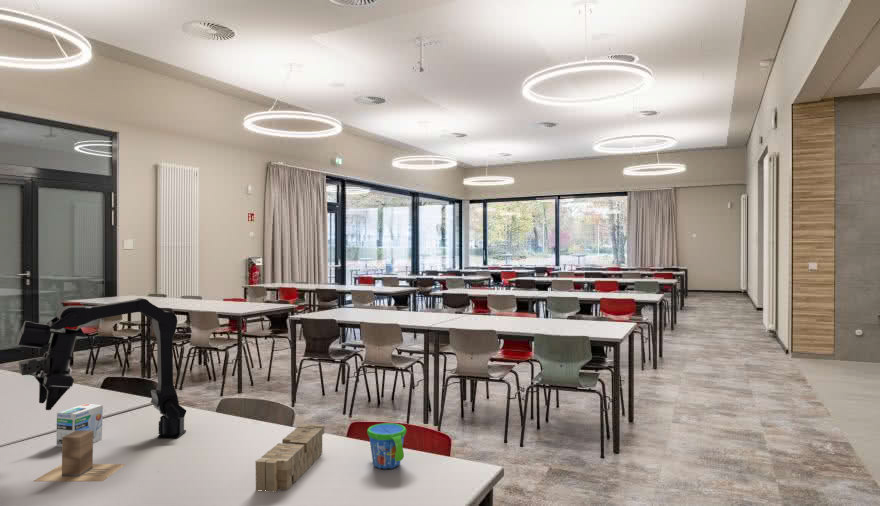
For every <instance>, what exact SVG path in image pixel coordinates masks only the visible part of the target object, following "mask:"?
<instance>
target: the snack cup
mask: <svg viewBox="0 0 880 506" xmlns="http://www.w3.org/2000/svg"><path fill="white" fill-rule="evenodd" d="M366 434H367V436H368V438H369V444H370V452H371V460H372V464H373V465H374V467H375V468H378V469H380V468H383V469H382V470H388V469H387V468H390V469H394V468H397V467H398V466H399V465H400V464H401V461H403V459H404V457H405V453H404V448H403V447H404V446H403V445H404V441H405V440H404V439H405V436H406V434H407V429H406V426H404V425H402V424H399V423H390V422H384V423H377V424H374V425H371V426H369V427H368V428H367V431H366ZM396 466H397V467H396Z"/></svg>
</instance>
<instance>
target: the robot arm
mask: <svg viewBox="0 0 880 506" xmlns="http://www.w3.org/2000/svg"><path fill="white" fill-rule="evenodd" d="M134 313H140V314H142V315H143V316H145V317H146V318H147V319H149V320H150V321H151V324H152V330H153V333H154V335H155V338H156V347H157V349H156V351H157V352H156V353H157V356H156V357H157V363H156V364H157V386H156V387H155V389H151V390H150V394H151V400H150V403H151V404H152V405H153V407H154V408H155V409H156V410H158V412H159V413H160V415H161V416H160V417H159V418H160V419H159V421H158V435H157V438H158V439H177V438H180V437H181V436H182V435H184V434H185V433H186V432H187V429H185V416H186V414H187V410H186V409H185V408H184V407H182V406H181V405H180V404H179V402H180V401H179V398H178V393H177V390H176V387H175V385H174V354H173V353H174V352H173V350H174V349H173V346H174V345H173V341H174V340H173V339H174V336H175V334H176V332H177V325H178V317H177V315H176V314H175V313H173V312H171V311H166V310H163V309H162V308H160V307H158V306H156V305H155V304H154V303H152V302H150V301H149V300H148V299H147V298H143V297H138V298H135V299H130V300H124V301H118V302H112V303H111V302H110V303H105V304H99V305H66V306H63V307H61V308H60V309H59V310H58V312H57V313H56V316H55V317H53V318H52V319H51V320H49V321H48V322H46V323H38V322H33V321H29V320H25V321H24V322H23V325H22V327H21V329H20V331H19V332H18V335H17V339H16V346H17V347H25V348H36V349H42V348H43V347H46V346H48V350H47V351H45V352H44V353H43V356H42V357H35V358H30V359H26V360H21V361H18V369H19V374H21V376H27V375H30V374H33V375H34V376H33V377H34V379H35V380H36V381H37V382H38V386H39V387H38V402H39V404H44V403H45V410H46V411H51V410H52V409H53V407H54V406H55V405H56V404H57V403H58V401H59V400H60V399H61V398H62V397H63V396H64V395H65V394H66V393H67V391H68V390H70V389H71V388H72V387H73V386H74V385H73V384H74V382H75V379H74V378H73V377H72V376H71V374H69V371H70V370H68V369H69V365H70V362H71V361H73V358H74V356H73V352H74V348H75V345H76V341H77V337H81V338H84V337H86V336H87V335H86V334H85V333H84V332H83V329H82V327H81V326H83V325H86V324H88V323H91V322H93V321H96V320H98V319H105V318H111V317H116V316H123V315H129V314H134ZM72 328H73V329H72ZM74 328H76V329H74ZM157 438H156V439H157Z"/></svg>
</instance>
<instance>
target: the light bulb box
mask: <svg viewBox="0 0 880 506" xmlns="http://www.w3.org/2000/svg"><path fill="white" fill-rule="evenodd" d="M103 413H104V406H103V404H93V403H92V404H91V403H83V404H80V405H78V406H73V407H70V408H68V409H65V410H61V411H59V412H58V411H57V412H56V439H55V440H56V442H55V443H56V447H59V448H60V447H61V448H62V437H64V436H66V435H68V434H70V433H72V432H74V431H93V444H94V443H96V442H99V441H102V439H103V418H104V417H103Z"/></svg>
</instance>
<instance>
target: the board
mask: <svg viewBox="0 0 880 506" xmlns="http://www.w3.org/2000/svg"><path fill="white" fill-rule="evenodd" d="M126 465H127V464H124V463H123V464H121V463H117V464H116V463H103V464H102V463H101V464H99V463H97V464H96V463H93V468H92V469H91V470H89V471H87V472H86V473H84V474H83V475H81V476H80V477H62V463H61V464H60V465H58V466H57V467H54V468H53V469H52V470H50V471H48V472H46V473H44V474H43V475H41V476H39V477H38V478H36V479H34V480H33V482H103V481H104V480H107V478H109V477H110V476H112V475H113V474H114V473H116V472H117V471H120V469H121V468H123V467H124V466H126Z"/></svg>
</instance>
